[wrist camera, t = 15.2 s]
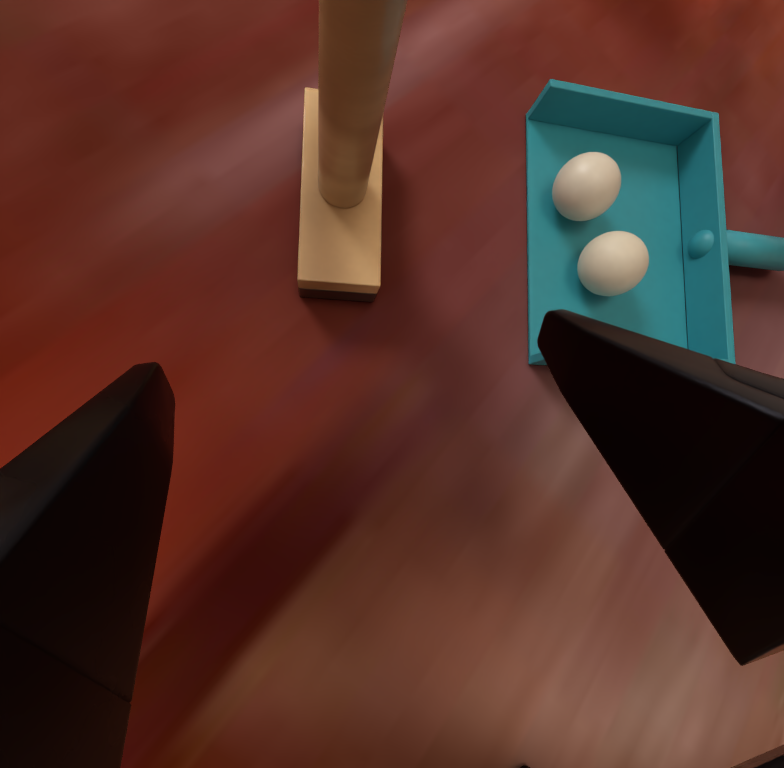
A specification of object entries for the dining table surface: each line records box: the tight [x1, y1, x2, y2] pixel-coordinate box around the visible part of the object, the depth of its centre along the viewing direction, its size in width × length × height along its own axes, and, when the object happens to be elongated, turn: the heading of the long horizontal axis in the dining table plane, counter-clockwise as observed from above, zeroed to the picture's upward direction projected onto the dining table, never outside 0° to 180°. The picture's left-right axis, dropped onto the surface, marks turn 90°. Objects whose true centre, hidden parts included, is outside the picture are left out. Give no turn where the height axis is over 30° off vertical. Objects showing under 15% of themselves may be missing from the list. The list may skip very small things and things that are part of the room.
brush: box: [297, 0, 407, 302], centre depth 16 cm, size 4×10×13 cm, turn 179°
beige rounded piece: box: [577, 231, 649, 296], centre depth 23 cm, size 4×4×4 cm
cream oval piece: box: [552, 152, 621, 221], centre depth 23 cm, size 4×4×4 cm
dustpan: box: [526, 79, 784, 365], centre depth 25 cm, size 18×16×3 cm
